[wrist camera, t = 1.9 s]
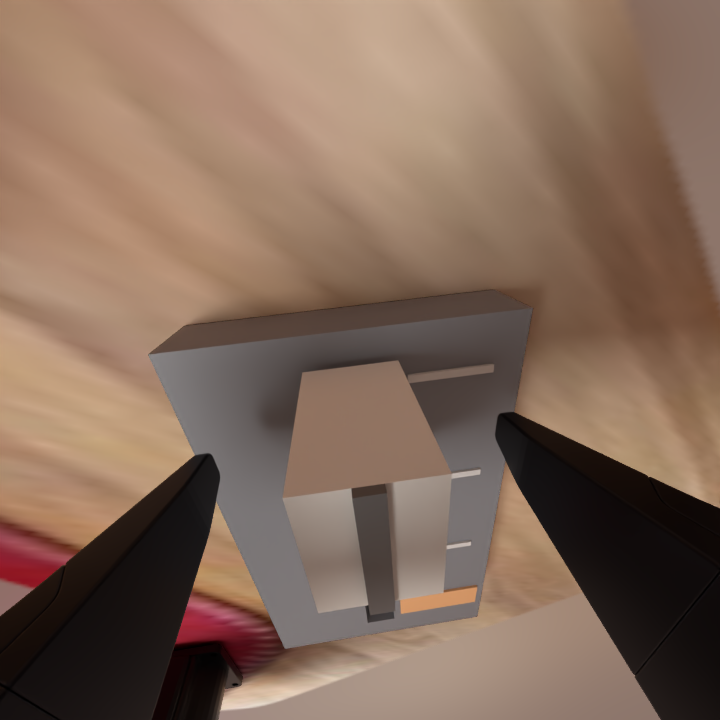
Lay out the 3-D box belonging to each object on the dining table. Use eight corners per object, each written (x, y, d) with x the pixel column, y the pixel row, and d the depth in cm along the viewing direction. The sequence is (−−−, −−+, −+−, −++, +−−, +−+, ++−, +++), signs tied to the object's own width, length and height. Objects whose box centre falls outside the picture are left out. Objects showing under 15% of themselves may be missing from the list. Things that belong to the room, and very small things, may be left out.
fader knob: (395, 433, 12) (446, 602, 7) (322, 443, 12) (317, 623, 7) (391, 344, 10) (456, 482, 5) (304, 355, 10) (280, 508, 5)
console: (461, 573, 21) (478, 618, 18) (289, 600, 20) (284, 651, 18) (493, 289, 12) (535, 308, 9) (184, 325, 11) (145, 356, 9)
